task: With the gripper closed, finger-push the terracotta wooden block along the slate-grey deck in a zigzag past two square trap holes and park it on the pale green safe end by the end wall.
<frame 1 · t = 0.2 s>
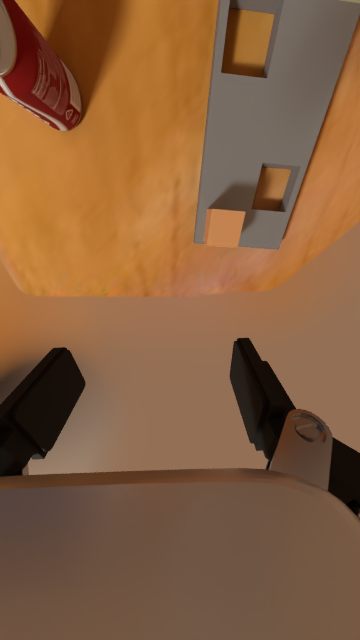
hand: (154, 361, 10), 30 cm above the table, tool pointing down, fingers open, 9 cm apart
deck: (257, 131, 27), on the table
soda can: (60, 100, 25), on the table
block: (218, 226, 31), point 2 cm above the table, touching deck
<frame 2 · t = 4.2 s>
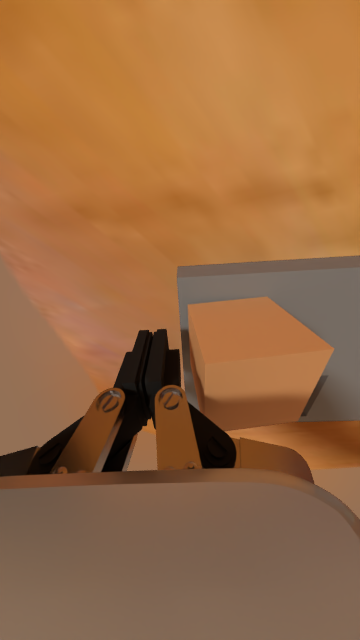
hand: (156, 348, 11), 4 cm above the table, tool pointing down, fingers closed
deck: (358, 344, 16), on the table
block: (225, 333, 12), point 3 cm above the table, tilted 6°, touching deck, gripper
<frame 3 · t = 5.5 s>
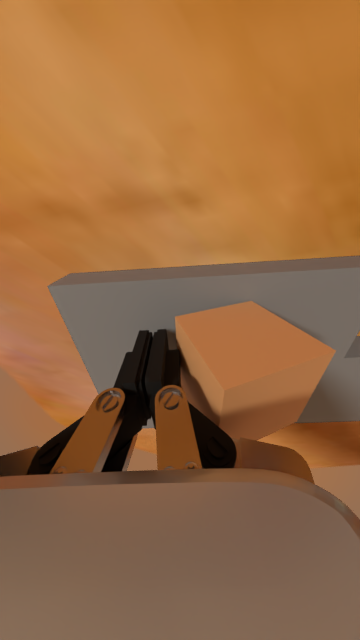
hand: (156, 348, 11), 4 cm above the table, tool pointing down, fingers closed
deck: (273, 348, 16), on the table
block: (213, 341, 12), point 3 cm above the table, tilted 20°, touching gripper
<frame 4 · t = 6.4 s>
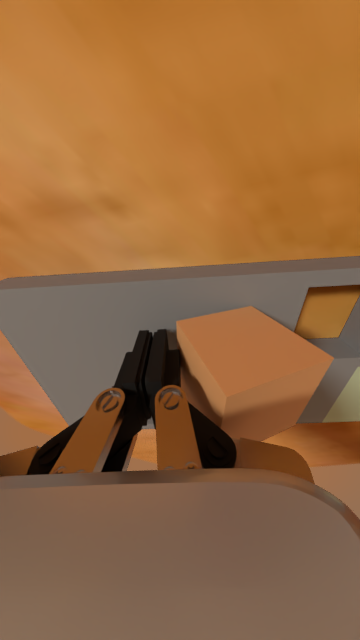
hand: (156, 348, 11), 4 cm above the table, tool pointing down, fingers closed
deck: (223, 351, 16), on the table
block: (212, 345, 12), point 3 cm above the table, tilted 20°, touching deck, gripper
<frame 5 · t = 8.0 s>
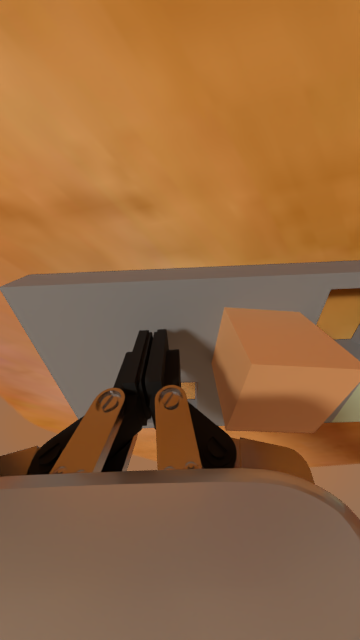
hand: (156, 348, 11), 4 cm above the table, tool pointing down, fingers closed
deck: (238, 351, 17), on the table
block: (251, 340, 13), point 2 cm above the table, touching deck
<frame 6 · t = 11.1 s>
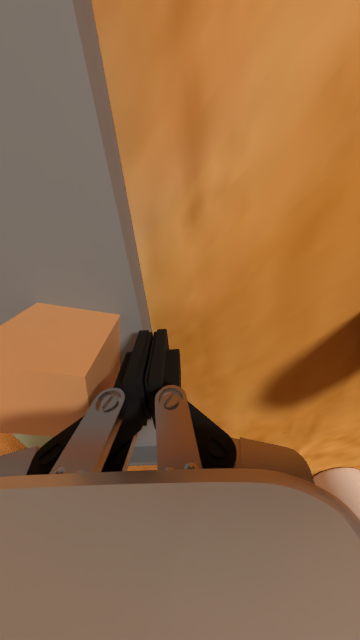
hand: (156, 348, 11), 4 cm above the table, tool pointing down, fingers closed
bottle: (333, 474, 32), on the table
deck: (54, 326, 15), on the table
block: (83, 340, 12), point 3 cm above the table, touching deck, gripper
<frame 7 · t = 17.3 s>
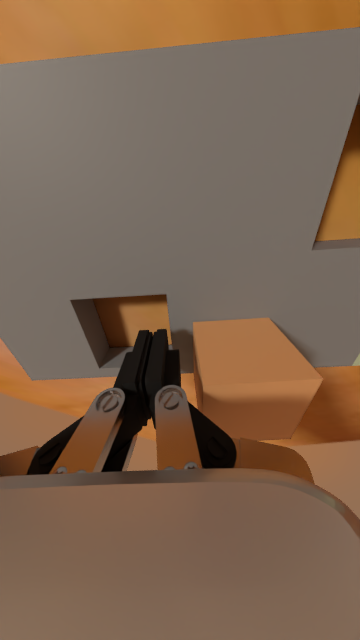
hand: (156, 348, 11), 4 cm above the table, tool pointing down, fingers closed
deck: (224, 262, 12), on the table
block: (227, 348, 13), point 3 cm above the table, touching gripper
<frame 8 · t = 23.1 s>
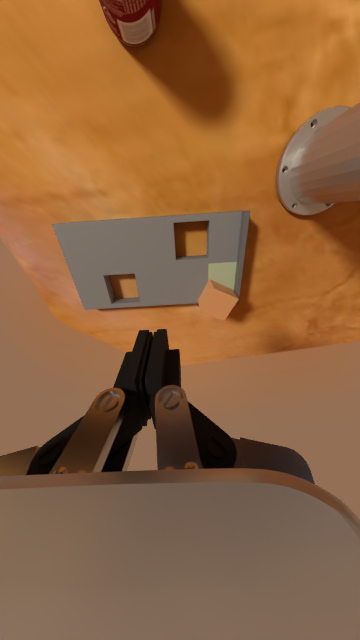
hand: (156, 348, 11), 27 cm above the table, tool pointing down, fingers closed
deck: (156, 263, 35), on the table
soda can: (132, 4, 20), on the table
block: (214, 294, 36), point 2 cm above the table, touching deck
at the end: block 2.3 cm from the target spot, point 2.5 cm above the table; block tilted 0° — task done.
